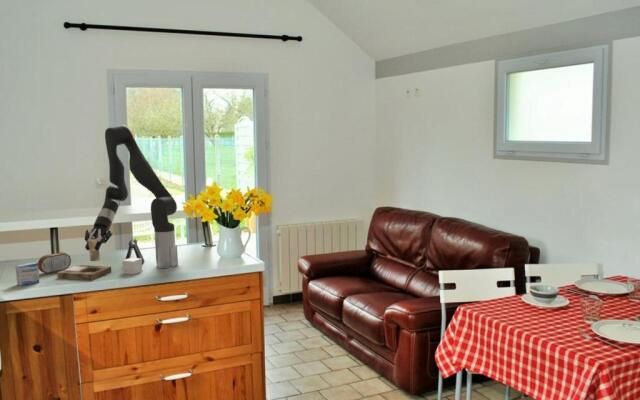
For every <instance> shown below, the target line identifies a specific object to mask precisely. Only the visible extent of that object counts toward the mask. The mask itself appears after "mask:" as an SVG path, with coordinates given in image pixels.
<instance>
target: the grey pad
mask: <svg viewBox="0 0 640 400" xmlns="http://www.w3.org/2000/svg"><path fill="white" fill-rule="evenodd" d="M73 266H74V267H73ZM73 266H71V267H68V268H67V269H66V270H64V271H80V270H83V269H85V268H87V267H79V266H76V265H73Z"/></svg>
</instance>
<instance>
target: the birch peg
mask: <svg viewBox="0 0 640 400" xmlns="http://www.w3.org/2000/svg"><path fill="white" fill-rule="evenodd" d="M88 242H89V250H88V252H89V261H90V262H97V261H100V260H101V257H100V249H98V251H96V250H95V246H96V243H97V242H98V238H97V239H89V240H88Z"/></svg>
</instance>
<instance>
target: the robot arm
mask: <svg viewBox="0 0 640 400" xmlns="http://www.w3.org/2000/svg"><path fill="white" fill-rule="evenodd" d="M104 139H105V145H106V153H107V157H108V165H109V178H108V179H109V182H110V184H112V185H109V186H107V188H106V189H105V198H104V202H103V205H102V207H101V209H100V211H99V213H97V217H96V219H95V221H94V224H93V228H92V229H91V230H88V229H86V230H85V233H84V234H85V235H84V241H85V242H86V244H85V246H84V248H85V250H86V251H89V242H88V240H89V239H98V242H97V243H96V246H95V250H96V251H98V249H99V250H100V248H101V246H102V245H103V244H107V242H108V241H109V239H110V238H111V237H112V236H113V232H112V231H111V230H110V229H111V227H112V224H113V222H114V220H115V216H116V215H117V211H118V209H119V204H118V203H117V202H116V201H119V202H125V201H126V200H127V198H128V196H129V191H128V188H127V184H126V181H125V166H124V163H123V161H122V160H121V159H120V157H119V156H118V153H117V152H118V151H117V148H118V146H121V145H124V146H125V147H126V149H127V151H128V154H129V155H128V156H129V160H128V165H129V171H130V172H131V174H132V176H133V177H134V179H135V180H136V181H137V183H139V184H140V185H141V186H142V187H144V188H145V189H147V190H148V191H149V192H151V193H152V195H153V196H154V197H155V198H153V200H152V201H151V203H150V215H151V216H150V217H151V224H152V227H153V229H154V232H153V233H154V245H155V247H154V248H155V249H154V250H155V264H156V268H159V269H169V268H170V269H171V268H172V269H173V268H174V267H176V266H178V265H179V257H178V253H179V252H178V245H177V244H176V234H175V224H174V223H172V222H170V221H169V218H168V216H171V215H174V214H175V213H176V212H177V209H178V206H177V202H176V200H175V198H174V197H173V196H172V194H171V193H170V192H169V191H168V189H167V188H166V187H165V186H164V184H163V183H162V182H161V180H160V178H159V177H158V175H157V173H156V172H155V171H154V169H153V167H152V165H151V164H150V163H149V160H147V158H146V157H145V155H144V154H143V152H142V150H141V148H140V147H139V146H138V143H137V140H136V139H135V137H134V134H133V133H132V131H131V129H130V128H129V127H128V126H127V125H125V124H119V125H114V126H110V127H107V129H105V132H104Z"/></svg>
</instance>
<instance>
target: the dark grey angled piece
mask: <svg viewBox="0 0 640 400" xmlns="http://www.w3.org/2000/svg"><path fill="white" fill-rule="evenodd" d="M140 250H141V249H140V248H139V245H138V240H137V239H136V238H134V239H133V238H131V239H130V241H129V242H128V250H127V253H126V255H125V256H126V257H125V259H124V260H126V259H129V258H132V256H131V255H132V251H134V253H135V256H136V257H135V258H142V266H143V265H144V263H145V258H144V256H143V254H142V252H141V251H140Z"/></svg>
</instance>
